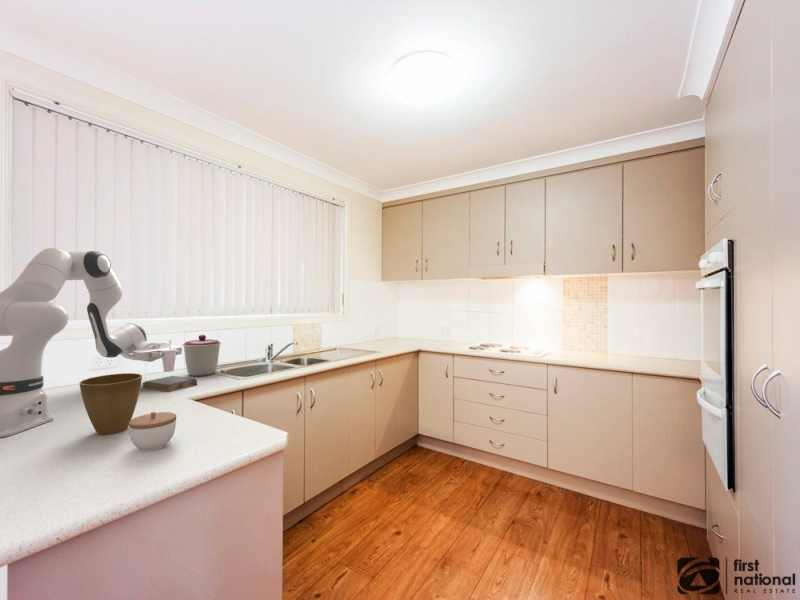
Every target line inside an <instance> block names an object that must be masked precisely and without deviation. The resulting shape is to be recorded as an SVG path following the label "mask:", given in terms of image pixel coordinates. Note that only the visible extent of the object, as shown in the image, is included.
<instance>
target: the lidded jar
mask: <svg viewBox="0 0 800 600" xmlns="http://www.w3.org/2000/svg"><path fill="white" fill-rule="evenodd" d="M176 426H177V414H176V413H174V412H168V411H167V412H166V411H163V412H162V411H161V412H156V411H151V412H150V413H146V414H142V415H139V416H137V417H133V418H132V419H131V420H130V421H129V426H128V430H129V433H128V434H129V438H130V441H131V443H132V444H133V445H134V447H136V448H138V450H139V449H140V450H139V451H141V450H143V451H142V452H150V451H149V450H152V451H156V449H157V450H161V449H163V448H164V447H167V443H169V442H170V441H171V439H172V438H173V436H174V434H175V430H176Z"/></svg>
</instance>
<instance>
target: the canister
mask: <svg viewBox="0 0 800 600" xmlns="http://www.w3.org/2000/svg"><path fill="white" fill-rule="evenodd" d="M206 338H207V336H206V335H205V334H199V335H198V339H192V340H188V341H185V342H184V343H183V344H182V346H183V353H184V358H185V367H186V371H187V374H188V375H189V376H193V377H203V376H209V375H210V376H211V375H212V374H213V375H214V373H215V372H216V371H217V368H218V364H219V362H218V361H219V357H220V355H219V354H220V346H221V344H222V342H221V341H219V340H217V339H208V338H207V339H206Z"/></svg>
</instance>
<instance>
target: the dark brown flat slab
mask: <svg viewBox="0 0 800 600" xmlns="http://www.w3.org/2000/svg"><path fill="white" fill-rule="evenodd" d="M197 385H198V380H197V378H194V377H186V376H177V375H169V376H165V377H160V378H155V379H149V380H147V381H144V382H142V389H144V388H147V389H146V390H151V389H153V391H158V390H160V391H159V392H165V391H166V393H167V392H168V393H169V392H173V391H177V390H181V389H186V388H189V387H194V386H197Z"/></svg>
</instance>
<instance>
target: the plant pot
mask: <svg viewBox="0 0 800 600" xmlns="http://www.w3.org/2000/svg"><path fill="white" fill-rule="evenodd" d="M142 378H143V374H140V373H135V372H134V373H133V372H129V373H127V372H126V373H123V372H121V373H111V374H104V375H99V376H94V377H90V378H86V379H83V380H81V381H79V383H78V385H79V389H80V393H81V397H82V401H83V406H84V408H85V410H86V411H85V412H86V413H87V416H88V418H89V420H90V423H91V425H92V426H93V429H94V430H95V432H96V434H98V435H100V436H105V435H106V436H108V435H114V434H119V433H122V432H123V431H125V430H127V429H129V421H130V420H132V419H133V416H134V413H135V410H136V406H137V403H138V399H139V395H140V390H141V387H142V385H141V384H142V380H143V379H142Z"/></svg>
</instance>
